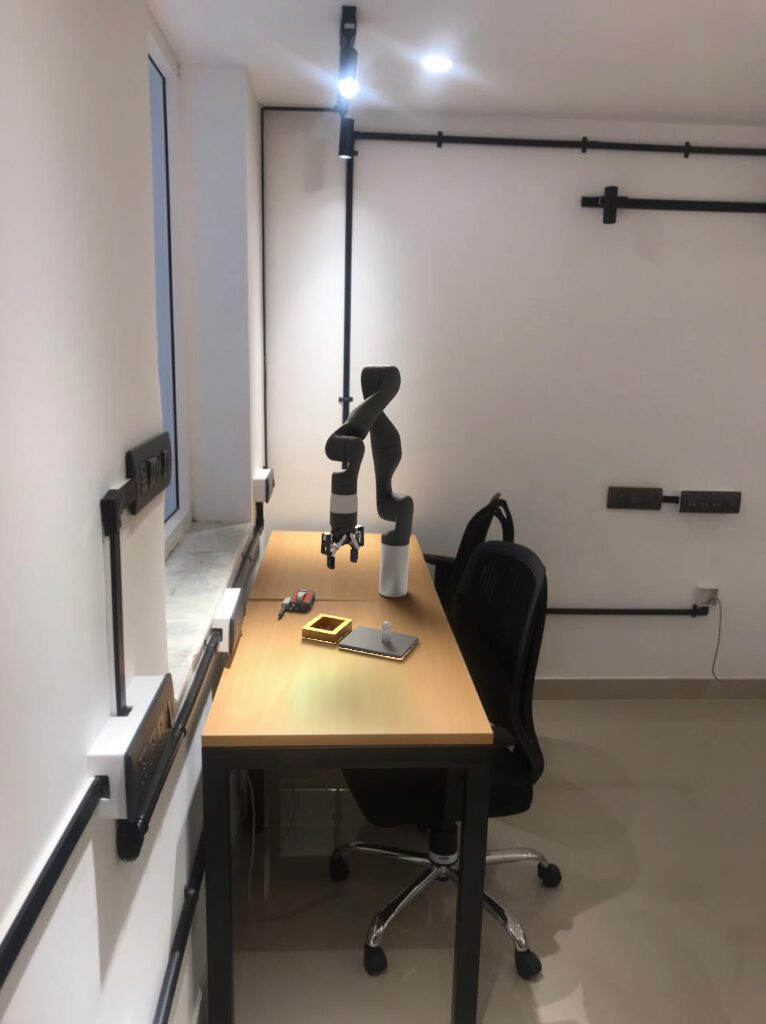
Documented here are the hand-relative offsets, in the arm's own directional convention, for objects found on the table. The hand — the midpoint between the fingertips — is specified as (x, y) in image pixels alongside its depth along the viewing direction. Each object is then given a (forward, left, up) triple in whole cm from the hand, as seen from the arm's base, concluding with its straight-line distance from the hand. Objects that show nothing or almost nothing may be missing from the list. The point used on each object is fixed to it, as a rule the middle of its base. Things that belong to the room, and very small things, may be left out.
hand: (342, 565), depth 212 cm
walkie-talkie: (-12, -20, -21) cm, 31 cm away
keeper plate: (+3, +13, -20) cm, 24 cm away
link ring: (+2, -3, -20) cm, 20 cm away
